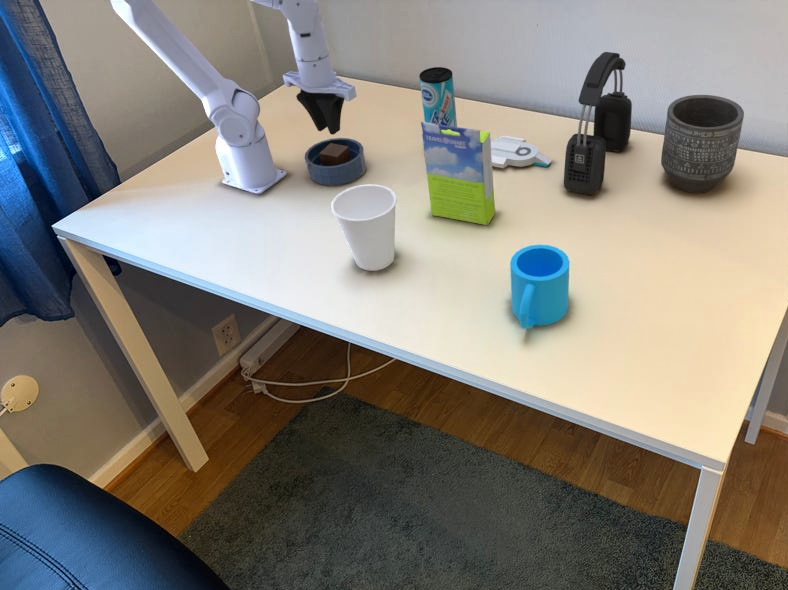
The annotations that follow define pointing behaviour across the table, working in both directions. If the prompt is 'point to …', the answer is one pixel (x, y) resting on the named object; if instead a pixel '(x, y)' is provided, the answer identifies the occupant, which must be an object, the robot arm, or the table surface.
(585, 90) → the headphones
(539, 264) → the mug
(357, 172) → the bowl
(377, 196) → the cup
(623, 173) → the table surface
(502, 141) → the toy rocket
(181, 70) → the robot arm
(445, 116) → the blue printed cylinder
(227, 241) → the table surface
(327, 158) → the block
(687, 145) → the planter
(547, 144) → the table surface
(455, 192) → the box
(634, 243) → the table surface
